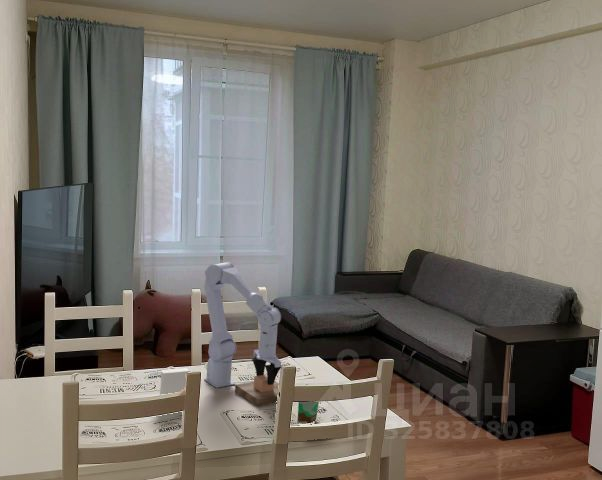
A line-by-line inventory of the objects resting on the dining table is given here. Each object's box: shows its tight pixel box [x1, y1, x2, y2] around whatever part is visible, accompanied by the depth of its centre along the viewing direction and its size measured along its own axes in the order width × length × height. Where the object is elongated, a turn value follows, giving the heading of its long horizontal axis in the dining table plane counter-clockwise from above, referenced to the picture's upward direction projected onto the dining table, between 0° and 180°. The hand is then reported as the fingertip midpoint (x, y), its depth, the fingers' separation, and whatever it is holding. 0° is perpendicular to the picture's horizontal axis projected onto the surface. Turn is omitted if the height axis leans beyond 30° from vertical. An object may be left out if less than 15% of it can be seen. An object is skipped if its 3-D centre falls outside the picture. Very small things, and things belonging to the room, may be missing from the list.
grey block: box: [159, 367, 191, 396], centre depth 198 cm, size 9×9×12 cm
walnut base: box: [234, 380, 280, 407], centre depth 213 cm, size 15×15×2 cm
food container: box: [296, 384, 320, 423], centre depth 194 cm, size 12×6×10 cm, turn 168°
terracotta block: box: [253, 374, 274, 392], centre depth 213 cm, size 5×5×4 cm
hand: (265, 381), depth 213 cm, fingers open, 6 cm apart
